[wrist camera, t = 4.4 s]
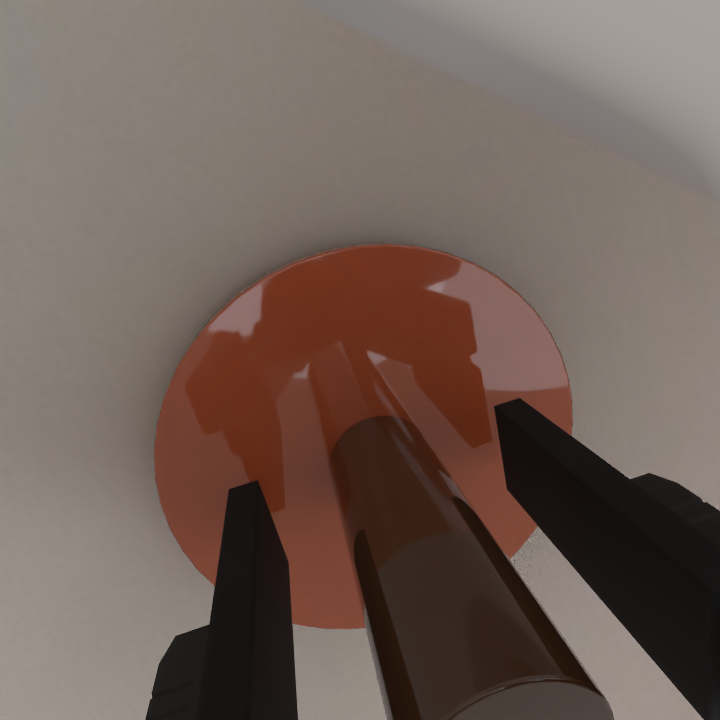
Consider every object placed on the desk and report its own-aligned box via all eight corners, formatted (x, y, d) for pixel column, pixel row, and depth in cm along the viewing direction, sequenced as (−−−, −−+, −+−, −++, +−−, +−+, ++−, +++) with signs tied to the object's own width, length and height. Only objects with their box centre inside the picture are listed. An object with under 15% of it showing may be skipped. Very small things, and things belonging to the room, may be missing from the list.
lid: (609, 302, 15) (1078, 428, 6) (478, 614, 18) (672, 989, 9) (208, 182, 12) (44, 101, 3) (131, 584, 15) (-61, 1110, 6)
